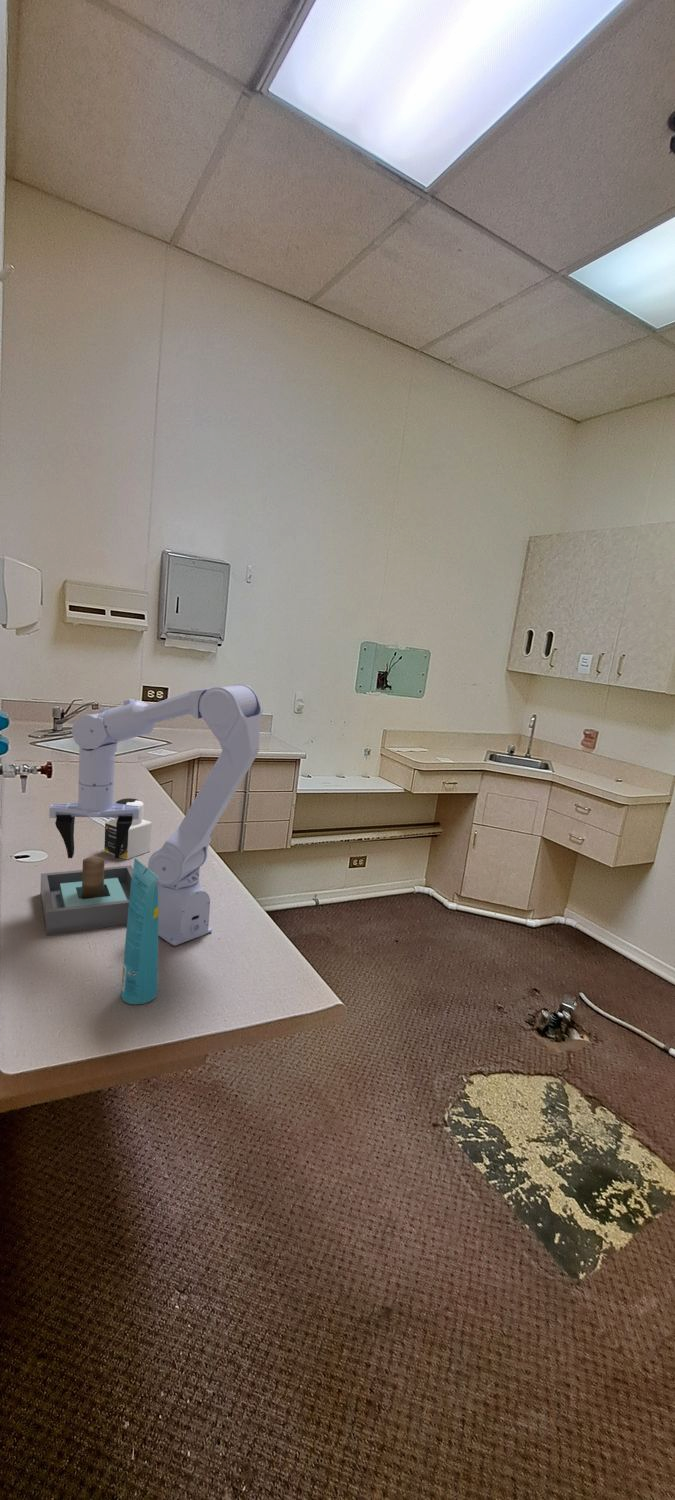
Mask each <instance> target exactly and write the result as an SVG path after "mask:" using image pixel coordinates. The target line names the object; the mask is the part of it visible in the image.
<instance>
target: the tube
mask: <svg viewBox="0 0 675 1500" xmlns="http://www.w3.org/2000/svg"><path fill="white" fill-rule="evenodd" d="M133 861H134V862H133V866H132V868H133V873H132V880H131V889H130V898H129V908H128V919H127V924H126V931H125V943H124V952H123V953H124V954H123V967H122V978H121V989H120V999H121V1000H122V1001H123V1002H125V1003H126V1004H129V1005H144V1004H147V1003H150V1002H151V1001H152V1000H154V999H155V998H156V997H157V995H158V994H157V993H158V970H159V969H158V968H159V963H158V962H159V936H158V912H159V911H158V879H159V877H158V876H157V875H156V874H154V873H153V872H152V871H151V870H149V869H148V866H146V865H145V864H144V863H142V862H141V861H140V860H138V859H137V858H135V857H134V860H133Z"/></svg>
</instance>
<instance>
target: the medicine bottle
mask: <svg viewBox="0 0 675 1500" xmlns="http://www.w3.org/2000/svg"><path fill="white" fill-rule="evenodd" d="M115 803H116V804H124V805H133V806H140V809H139V819H133V820H132V824H131V826H130V828H129V830H128V832H127V834H126V836H125V838H124V840H123V843H122V846H121V849H120V856H119V858H121V859H124V860H129V859H133V858H135V857H138V856H141V855H143V854H144V855H145V854H147V853H149V852H150V851H151V845H152V844H151V842H152V821H149V820H146V819H144V809H145V807H144V805H145V804H144V802H143V801H142V800H139V799H138V798H130V797H129V798H122V799H118V800H117V801H116V802H115ZM117 820H118V818H114V819H111V820H106V821H105V822H104V823H105V824H104V849H103V851H104V852H105V853H107V854H110V855H112V856H115V848H116V823H117Z"/></svg>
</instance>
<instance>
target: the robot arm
mask: <svg viewBox="0 0 675 1500" xmlns="http://www.w3.org/2000/svg"><path fill="white" fill-rule="evenodd" d="M122 702H123V704H122V705H118V706H116V707H111V708H110V707H108V706H107V707H103V708H101V709H100V712H99V713H94V714H93V713H92V714H89V713H87V714H86V713H85V714H83V715H81V716H80V717H77V719H75V721H74V722H73V725H72V728H71V734H72V738H73V741H74V742H75V744H76V745H77V746H79V747H78V751H79V753H78V791H77V796H78V797H77V798H78V799H77V802H70V803H51V804H50V806H49V807H48V808H49V811H48V814H49V815H48V816H49V817H48V818H50V819H55V822H54V824H55V827H56V828H57V830H58V832H59V834H60V836H61V839H62V840H63V843H64V845H65V849H66V853H67V854H66V855H67V859H72V858H73V857H74V855H75V838H74V836H75V834H74V833H75V820H76V818H107V819H109V818H112V819H113V818H114V819H115V818H118V820H117V823H116V848H115V855H114V858H115V859H119V858H120V857H119V856H120V849H121V846H122V843H123V840H124V838H125V836H126V834H127V832H128V830H129V828H130V826H131V824H132V820H133V819H139V809H140V806H133V805H124V804H116V802H115V803H114V797H115V796H114V794H115V793H114V789H115V762H116V761H115V760H116V752H117V749H118V744H119V743H120V742H123V741H124V742H125V741H126V740H129V739H134V738H137V737H141V736H143V735H148V734H150V733H152V731H153V729H154V728H155V725H156V723H160V722H164V721H167V720H171V719H174V718H175V719H176V718H179V717H183V716H187V715H191V716H192V717H193V718H195V719H198V720H199V719H202V720H203V721H204V722H205V724H206V726H208V728H209V729H210V731H211V732H212V734H213V735H214V737H216V739H217V740H218V742H219V744H220V747H221V752H220V754H219V756H218V758H217V760H216V762H215V763H214V765H213V767H211V770H210V772H209V773H208V775H207V777H206V779H205V781H203V782H204V783H203V785H201V788H200V790H199V792H198V793H197V795H196V797H195V798H194V800H193V801H192V804H191V805H190V807H189V808H188V810H187V812H186V814H185V816H184V818H183V819H182V821H181V823H180V825H179V826H178V828H177V829H175V831H174V832H173V833H172V834H171V835H170V836H169V837H168V838H167V840H165V842H164V843H163V845H162V846H161V847H160V848H159V849H158V850H156V851H154V852H153V853H152V854H151V855H150V857H149V859H148V862H147V863H148V864H147V868H148V869H149V870H151V871H152V872H153V873H154V874H156V875H157V876H158V877H159V879H158V911H159V912H158V937H160V938H161V939H163V941H166V942H167V943H169V945H172V946H178V945H182V944H184V943H185V942H188V941H191V940H194V939H196V938H199V937H202V936H204V935H206V934H207V935H208V934H209V933H211V932H213V929H212V927H210V926H209V922H210V908H211V898H210V895H209V894H208V892H207V891H205V890H204V888H203V887H202V885H201V883H200V869H201V868H200V867H202V866H203V865H204V864H205V862H207V857H208V848H209V846H210V844H211V842H212V838H211V837H210V836H211V834H212V832H213V830H214V829H215V827H216V825H217V824H218V822H219V820H220V819H221V817H222V815H223V814H224V812H225V810H226V808H227V806H228V805H229V803H230V802H231V800H232V798H233V796H234V795H235V794H236V792H237V789H238V788H239V786H240V785H241V783H242V782H243V780H244V778H245V777H246V775H247V773H248V771H249V770H250V767H251V766H252V764H253V763H254V761H255V759H256V757H257V755H259V752H260V751H259V750H260V727H261V726H260V725H261V724H260V723H261V722H260V721H261V718H262V716H263V712H264V709H263V707H262V705H261V701H260V699H259V696H258V695H257V692H256V690H254V688H252V687H251V686H250V685H247V684H244V683H237V684H233V685H229V686H228V685H227V686H226V685H225V686H213V687H208V688H202V689H201V688H200V689H193V690H188V691H186V692H183V693H179V694H177V695H175V696H171V697H168V698H166V699H164V700H160V701H157V702H154V703H151V704H148V703H146V702H145V701H143V700H139V699H137V700H135V698H129V699H126V700H123V701H122Z"/></svg>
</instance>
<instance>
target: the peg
mask: <svg viewBox="0 0 675 1500" xmlns="http://www.w3.org/2000/svg"><path fill="white" fill-rule="evenodd" d="M105 865H106V864H105V858H103V857H100V856H89V857H85V858H83V860H82V870H83V871H82V899H89V898H98V897H103V894H104V868H105Z"/></svg>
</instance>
